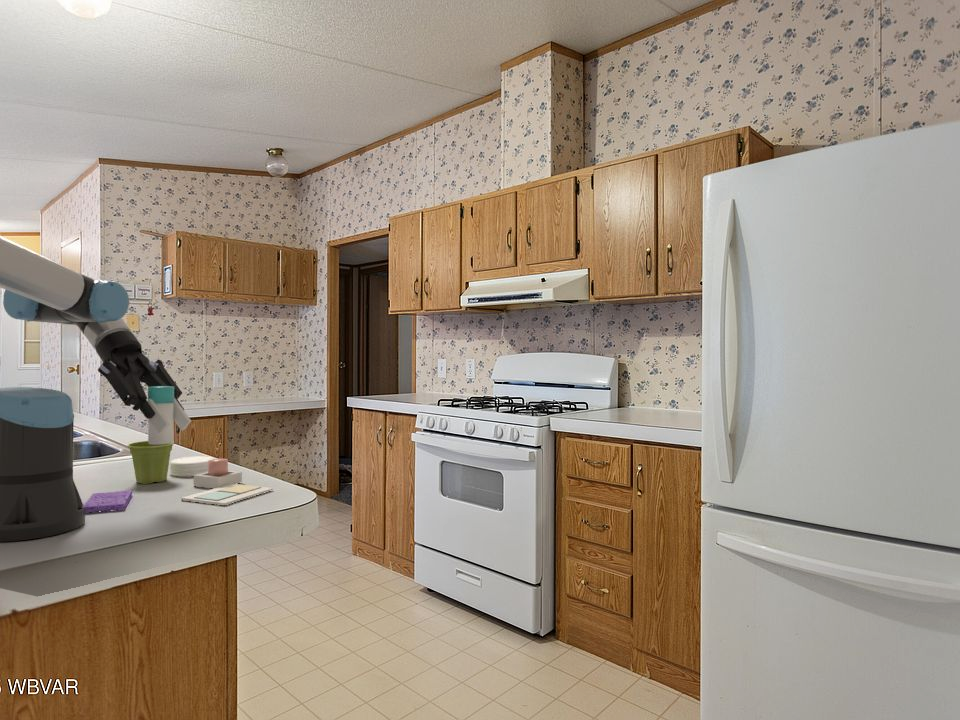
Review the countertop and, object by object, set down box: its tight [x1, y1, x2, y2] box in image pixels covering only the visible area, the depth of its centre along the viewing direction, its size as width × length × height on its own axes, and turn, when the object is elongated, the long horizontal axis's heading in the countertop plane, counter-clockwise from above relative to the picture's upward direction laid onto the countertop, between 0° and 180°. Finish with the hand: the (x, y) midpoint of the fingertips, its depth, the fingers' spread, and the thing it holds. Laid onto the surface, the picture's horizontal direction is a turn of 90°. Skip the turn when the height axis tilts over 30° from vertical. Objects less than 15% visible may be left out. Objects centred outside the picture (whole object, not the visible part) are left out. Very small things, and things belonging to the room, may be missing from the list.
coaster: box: [169, 455, 215, 478], centre depth 152 cm, size 10×10×4 cm
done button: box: [208, 458, 229, 477], centre depth 139 cm, size 4×4×4 cm
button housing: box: [193, 470, 243, 489], centre depth 139 cm, size 7×7×2 cm
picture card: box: [180, 483, 274, 506], centre depth 129 cm, size 14×11×1 cm
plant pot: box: [127, 440, 175, 485], centre depth 142 cm, size 9×9×9 cm
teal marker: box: [147, 386, 174, 445], centre depth 122 cm, size 5×5×11 cm
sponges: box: [83, 489, 133, 514], centre depth 121 cm, size 7×13×2 cm, turn 23°
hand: (175, 427), depth 121 cm, fingers closed on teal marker, 4 cm apart
